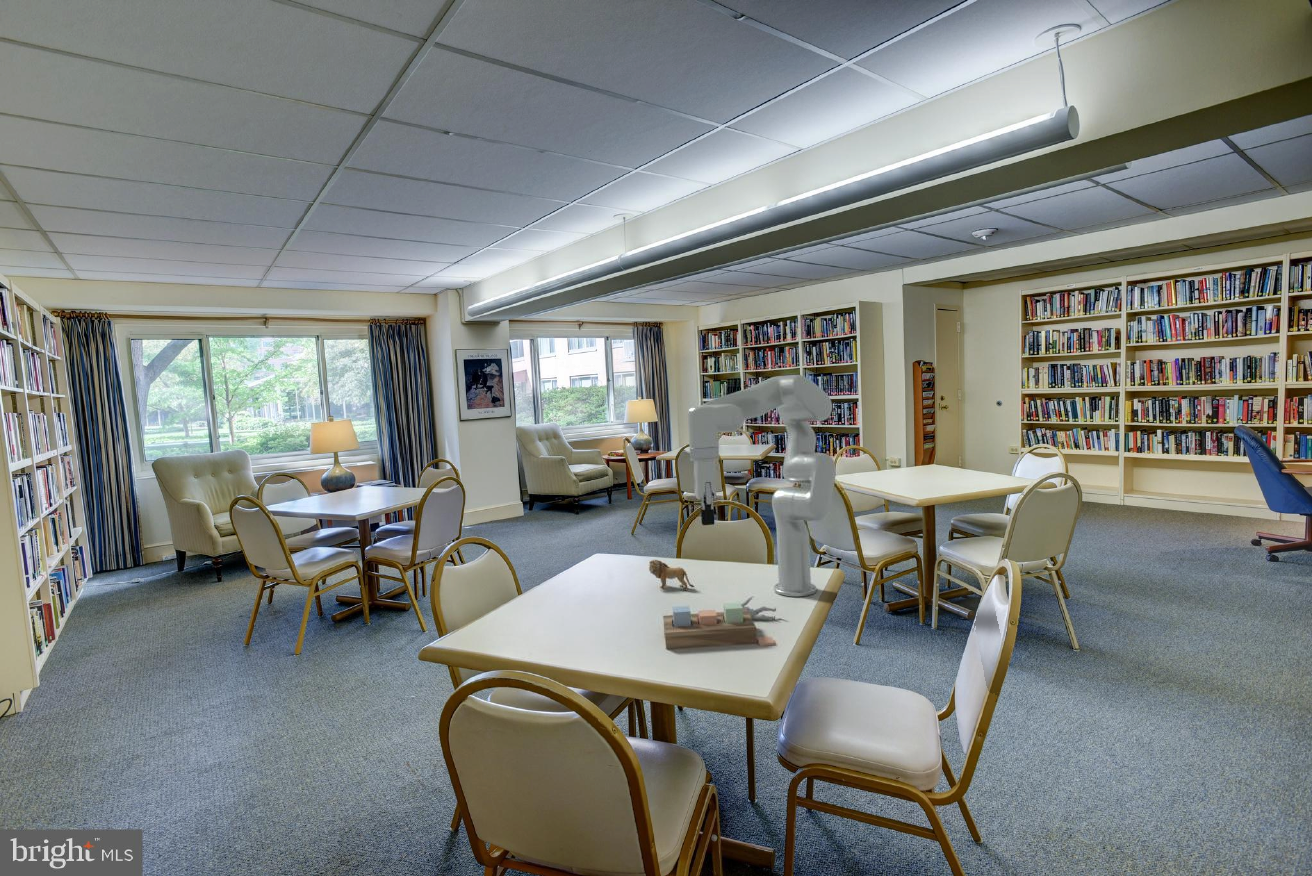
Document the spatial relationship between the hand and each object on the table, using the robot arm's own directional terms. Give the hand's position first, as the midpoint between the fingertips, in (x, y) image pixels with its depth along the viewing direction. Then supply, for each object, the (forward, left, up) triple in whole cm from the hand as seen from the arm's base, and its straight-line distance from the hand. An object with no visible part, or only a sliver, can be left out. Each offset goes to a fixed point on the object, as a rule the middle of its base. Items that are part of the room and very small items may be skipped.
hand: (708, 524), depth 162 cm
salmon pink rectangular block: (+7, -2, -27) cm, 27 cm away
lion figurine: (-36, -9, -27) cm, 46 cm away
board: (+7, -2, -27) cm, 28 cm away
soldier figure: (-3, +11, -27) cm, 30 cm away
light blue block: (+7, -9, -25) cm, 27 cm away
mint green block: (+7, +5, -25) cm, 26 cm away
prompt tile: (+13, +11, -27) cm, 32 cm away
